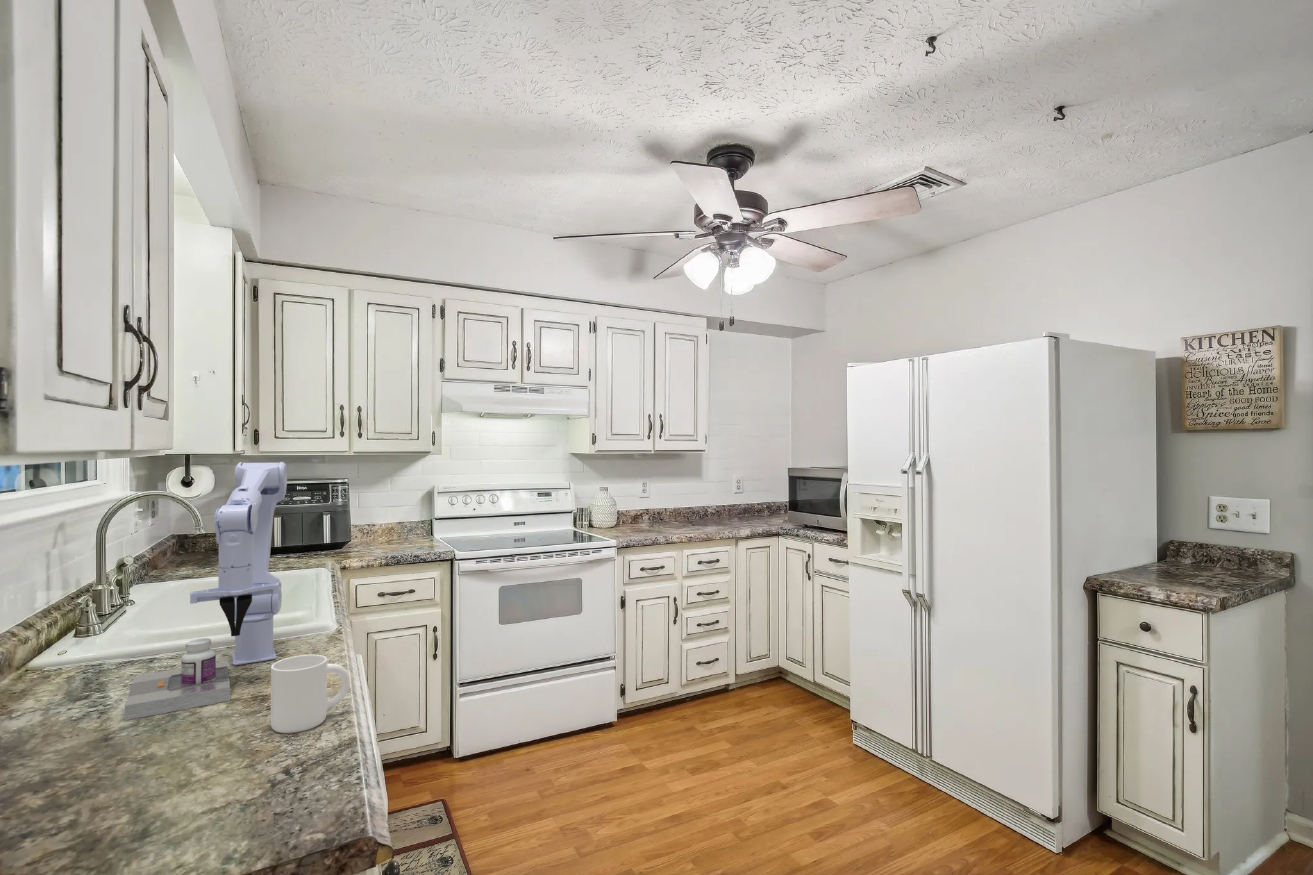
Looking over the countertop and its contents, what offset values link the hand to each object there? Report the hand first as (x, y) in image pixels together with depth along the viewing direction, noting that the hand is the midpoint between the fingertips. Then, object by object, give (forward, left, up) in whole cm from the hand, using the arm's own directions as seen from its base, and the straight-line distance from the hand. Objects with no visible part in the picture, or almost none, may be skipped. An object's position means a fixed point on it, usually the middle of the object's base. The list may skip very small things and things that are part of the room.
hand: (235, 634), depth 126 cm
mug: (+28, +10, -10) cm, 31 cm away
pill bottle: (0, -6, -10) cm, 12 cm away
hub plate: (0, -9, -10) cm, 13 cm away
